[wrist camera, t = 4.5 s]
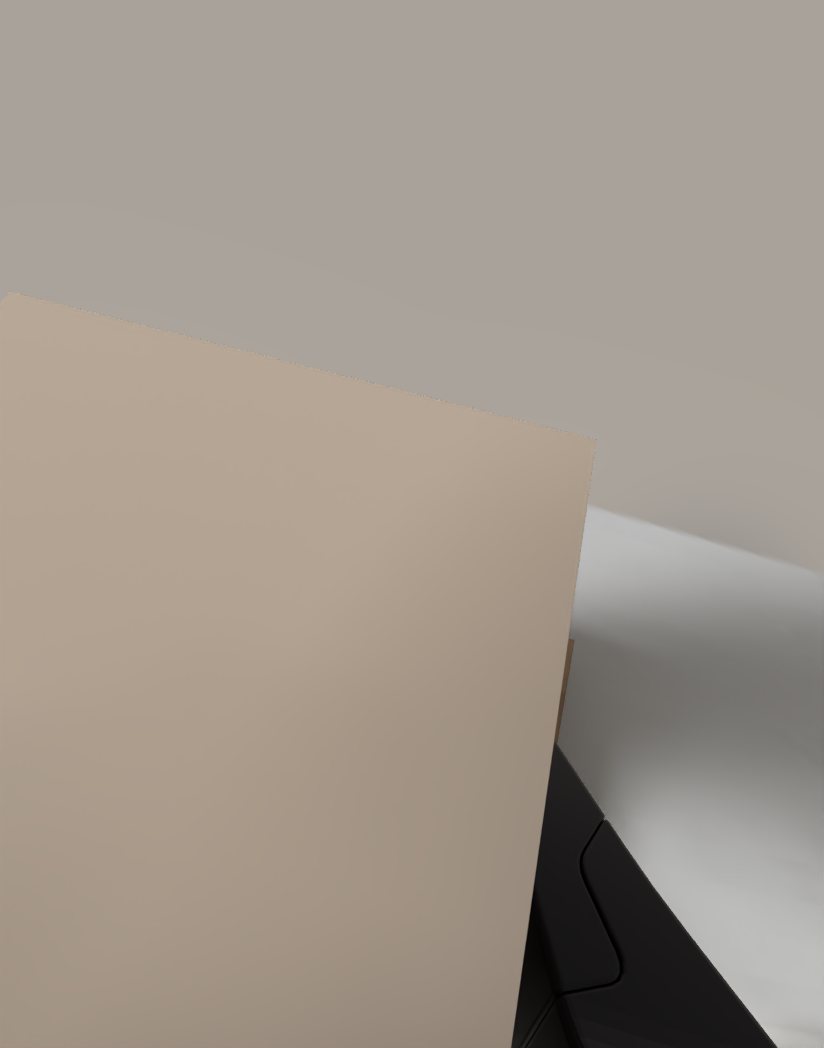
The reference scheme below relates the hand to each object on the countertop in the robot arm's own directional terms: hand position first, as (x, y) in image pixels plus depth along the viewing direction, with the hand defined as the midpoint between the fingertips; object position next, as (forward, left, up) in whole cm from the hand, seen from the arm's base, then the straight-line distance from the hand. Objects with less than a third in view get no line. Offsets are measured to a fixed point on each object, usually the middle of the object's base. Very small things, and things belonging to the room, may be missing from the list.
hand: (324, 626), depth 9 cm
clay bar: (-1, +1, -7) cm, 7 cm away
